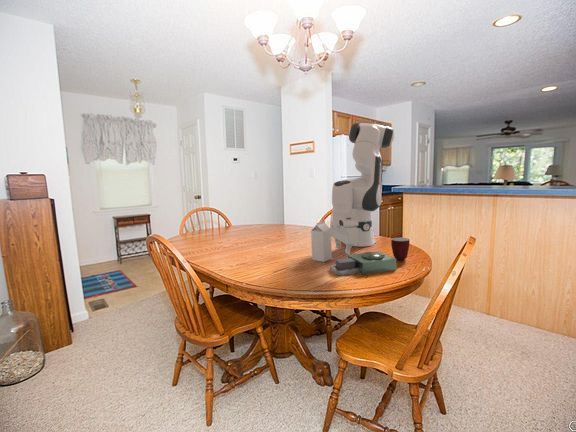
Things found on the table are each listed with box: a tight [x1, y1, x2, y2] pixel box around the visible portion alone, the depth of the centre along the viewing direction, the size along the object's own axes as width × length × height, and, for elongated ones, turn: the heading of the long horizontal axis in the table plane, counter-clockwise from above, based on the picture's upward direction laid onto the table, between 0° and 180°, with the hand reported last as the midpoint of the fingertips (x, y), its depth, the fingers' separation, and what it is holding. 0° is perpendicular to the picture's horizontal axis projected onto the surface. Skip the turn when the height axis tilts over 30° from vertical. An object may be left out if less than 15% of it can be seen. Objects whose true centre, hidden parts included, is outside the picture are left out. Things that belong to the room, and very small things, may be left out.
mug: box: [390, 237, 410, 262], centre depth 142 cm, size 11×8×10 cm
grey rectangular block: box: [334, 258, 355, 270], centre depth 131 cm, size 5×7×5 cm
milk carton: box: [310, 220, 333, 263], centre depth 150 cm, size 7×7×19 cm
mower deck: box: [329, 250, 397, 277], centre depth 133 cm, size 14×26×6 cm, turn 105°
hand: (342, 250), depth 131 cm, fingers open, 8 cm apart
